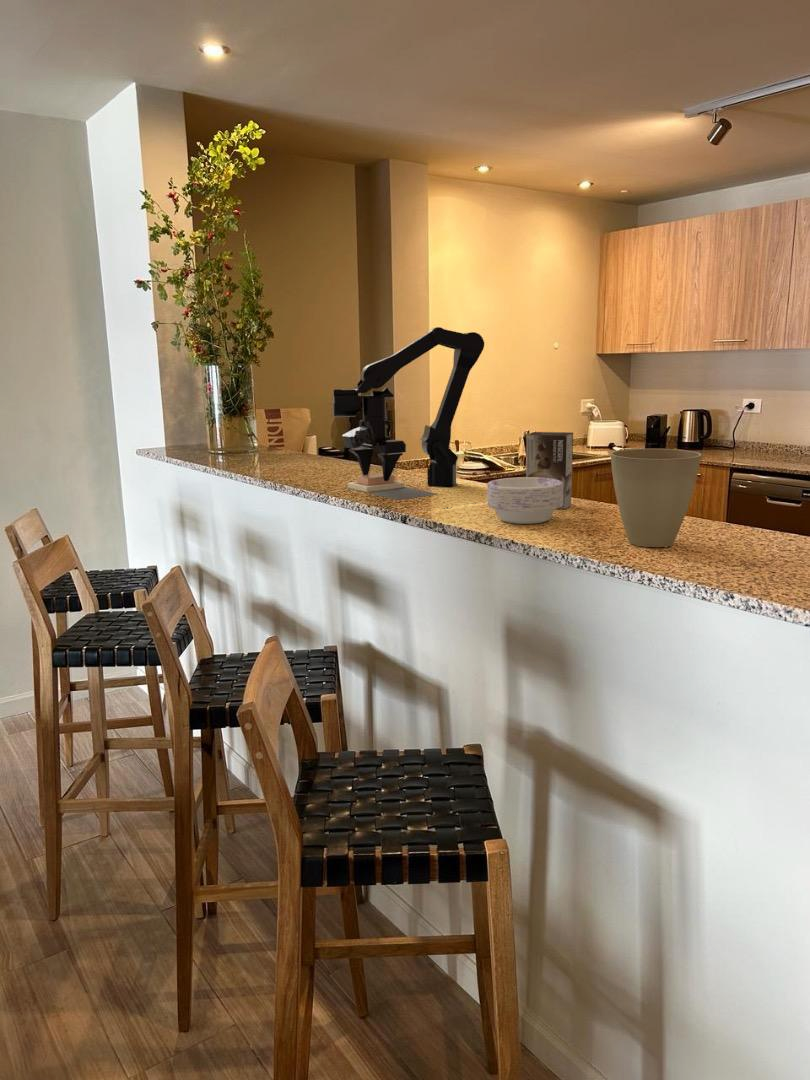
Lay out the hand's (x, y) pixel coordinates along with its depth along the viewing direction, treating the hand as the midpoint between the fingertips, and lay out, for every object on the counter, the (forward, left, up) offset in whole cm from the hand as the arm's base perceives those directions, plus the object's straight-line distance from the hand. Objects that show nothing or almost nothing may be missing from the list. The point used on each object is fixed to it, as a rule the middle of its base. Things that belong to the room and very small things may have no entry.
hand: (375, 478), depth 196 cm
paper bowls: (-43, +26, -3) cm, 51 cm away
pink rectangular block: (0, 0, -2) cm, 2 cm away
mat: (-5, +3, -3) cm, 7 cm away
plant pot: (-68, +40, -3) cm, 79 cm away
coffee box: (-45, +9, -3) cm, 46 cm away
